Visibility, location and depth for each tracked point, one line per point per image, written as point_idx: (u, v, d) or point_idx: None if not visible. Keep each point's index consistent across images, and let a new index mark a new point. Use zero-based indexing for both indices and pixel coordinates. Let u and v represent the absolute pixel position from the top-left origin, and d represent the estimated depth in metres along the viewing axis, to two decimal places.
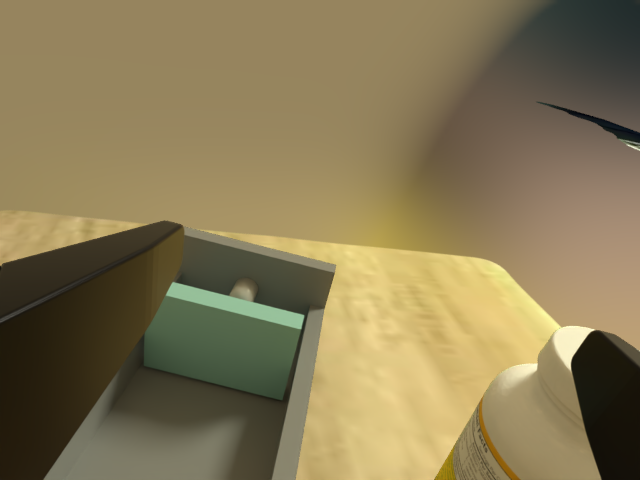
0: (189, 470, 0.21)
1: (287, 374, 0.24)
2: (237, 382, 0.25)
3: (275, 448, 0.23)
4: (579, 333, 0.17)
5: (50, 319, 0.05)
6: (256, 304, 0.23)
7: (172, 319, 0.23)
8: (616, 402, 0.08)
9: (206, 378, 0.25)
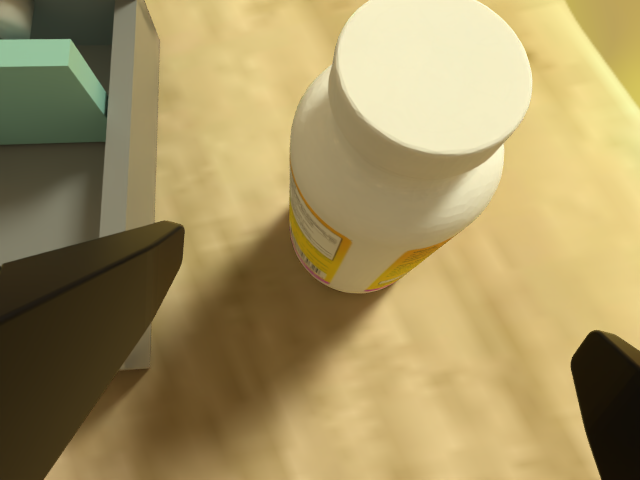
0: (39, 245, 0.20)
1: (103, 117, 0.19)
2: (58, 136, 0.20)
3: None
4: (394, 5, 0.10)
5: (50, 319, 0.05)
6: None
7: None
8: (616, 402, 0.08)
9: (22, 141, 0.20)
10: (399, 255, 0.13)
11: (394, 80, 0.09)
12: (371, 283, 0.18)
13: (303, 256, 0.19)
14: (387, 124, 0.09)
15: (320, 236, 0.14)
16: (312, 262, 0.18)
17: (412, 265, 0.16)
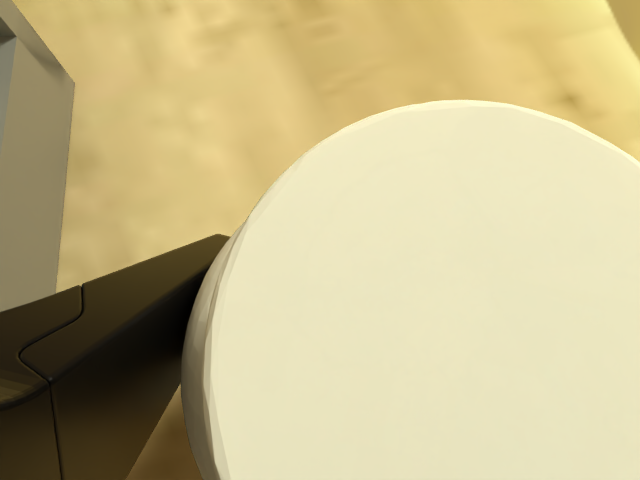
0: None
1: None
2: None
3: None
4: (385, 161, 0.04)
5: (134, 340, 0.05)
6: None
7: None
8: None
9: None
10: None
11: (381, 422, 0.03)
12: None
13: None
14: None
15: None
16: None
17: None
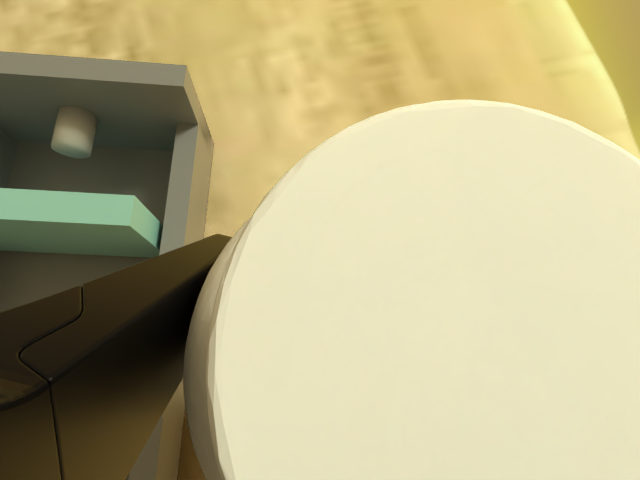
0: None
1: (154, 248, 0.19)
2: (107, 253, 0.20)
3: None
4: (388, 161, 0.04)
5: (135, 340, 0.05)
6: (60, 193, 0.16)
7: None
8: None
9: (71, 252, 0.21)
10: None
11: (385, 420, 0.03)
12: None
13: None
14: None
15: None
16: None
17: None
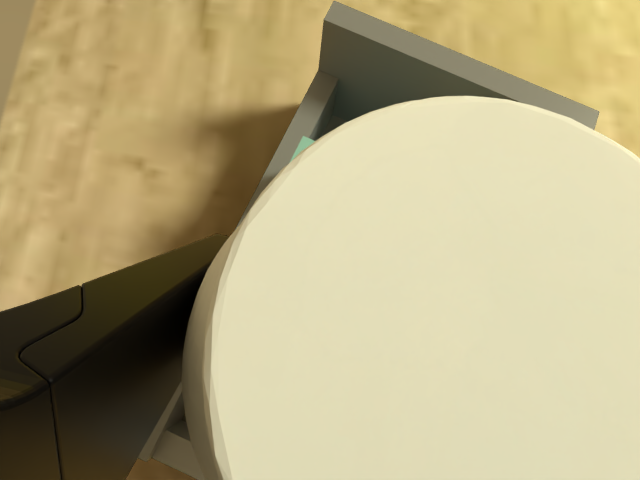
0: None
1: None
2: None
3: None
4: (384, 156, 0.04)
5: (135, 340, 0.05)
6: None
7: None
8: None
9: None
10: None
11: (380, 416, 0.03)
12: None
13: None
14: None
15: None
16: None
17: None
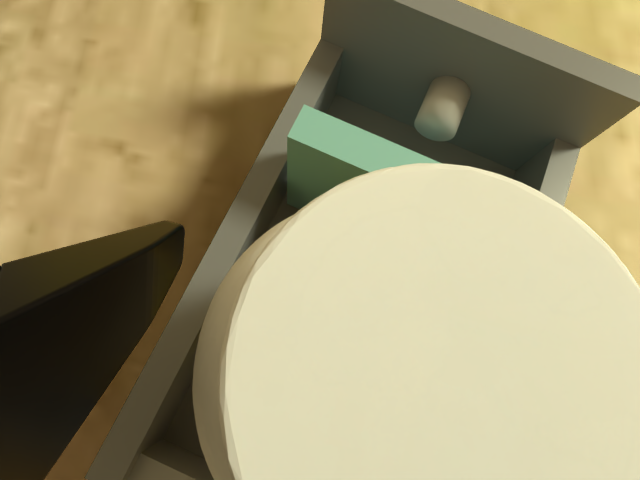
0: None
1: None
2: None
3: None
4: (366, 216, 0.05)
5: (50, 319, 0.05)
6: None
7: (329, 178, 0.14)
8: None
9: None
10: None
11: (358, 429, 0.04)
12: None
13: None
14: None
15: None
16: None
17: None
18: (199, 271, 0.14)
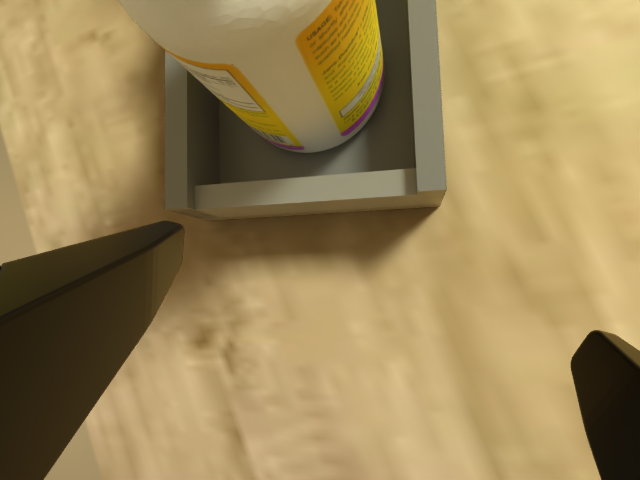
0: None
1: None
2: None
3: (405, 24, 0.19)
4: None
5: (50, 319, 0.05)
6: None
7: None
8: (616, 402, 0.08)
9: None
10: (297, 53, 0.11)
11: None
12: (332, 119, 0.16)
13: (260, 132, 0.17)
14: None
15: (222, 87, 0.12)
16: (266, 132, 0.16)
17: (346, 68, 0.13)
18: None
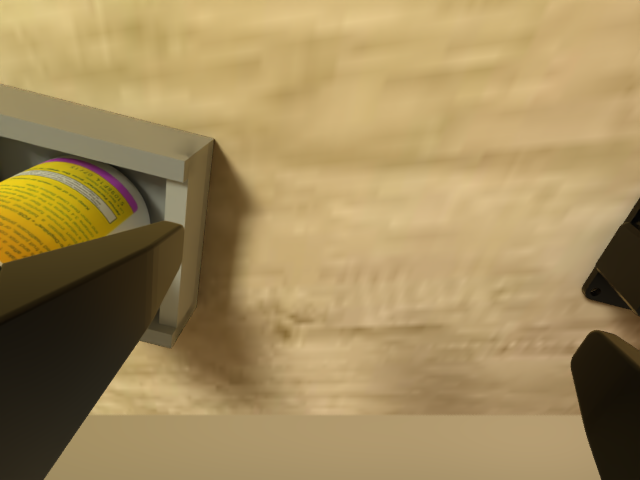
0: None
1: None
2: None
3: None
4: None
5: (50, 319, 0.05)
6: None
7: None
8: (616, 402, 0.08)
9: None
10: None
11: None
12: (116, 227, 0.20)
13: None
14: None
15: None
16: None
17: (69, 229, 0.17)
18: None
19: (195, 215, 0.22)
